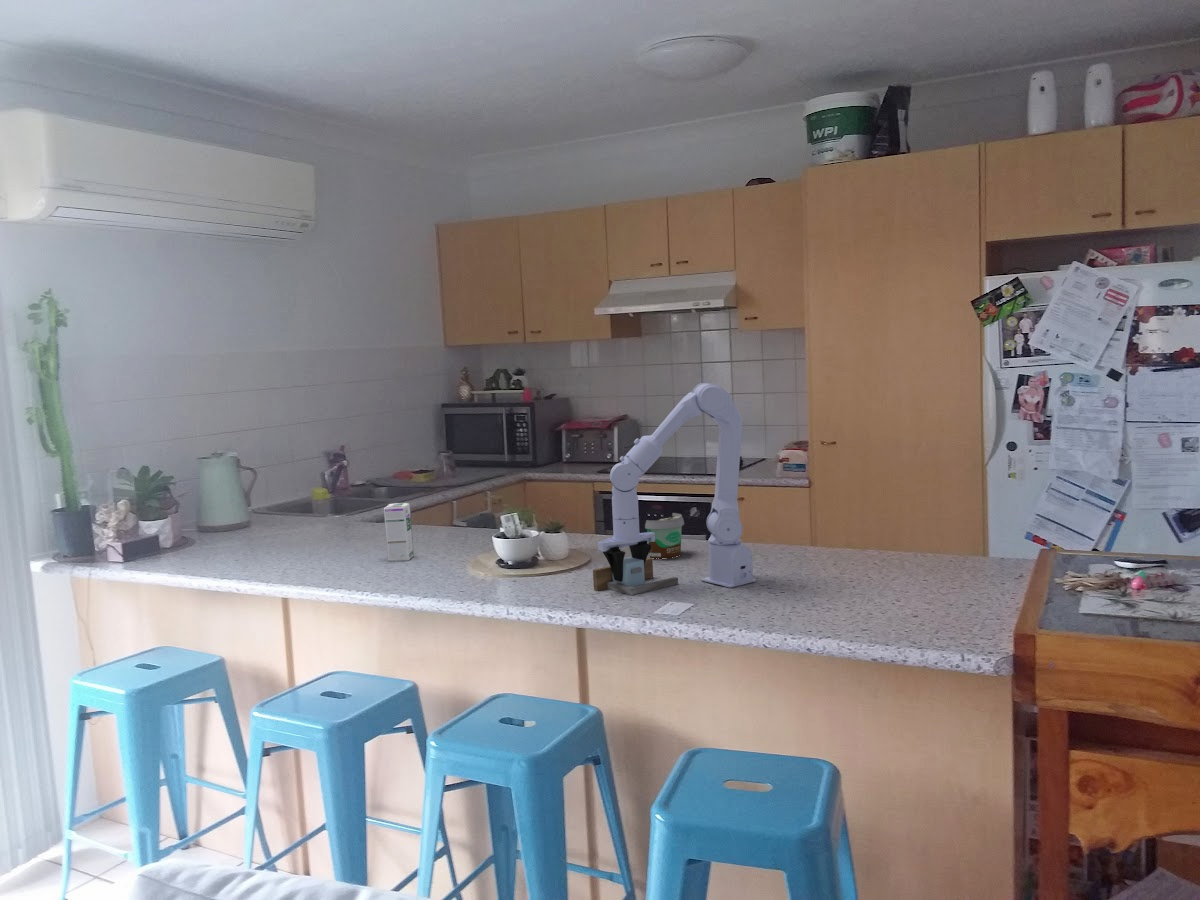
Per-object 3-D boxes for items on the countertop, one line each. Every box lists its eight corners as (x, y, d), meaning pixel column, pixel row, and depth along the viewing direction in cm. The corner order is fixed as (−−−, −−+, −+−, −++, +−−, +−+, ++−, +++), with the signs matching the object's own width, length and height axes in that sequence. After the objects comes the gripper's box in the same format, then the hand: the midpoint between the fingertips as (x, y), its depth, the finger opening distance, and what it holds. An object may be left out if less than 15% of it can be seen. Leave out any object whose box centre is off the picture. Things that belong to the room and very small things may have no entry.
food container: (666, 562, 232) (664, 522, 230) (646, 560, 235) (644, 520, 234) (695, 553, 241) (693, 514, 240) (675, 550, 245) (673, 512, 244)
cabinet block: (647, 587, 208) (646, 560, 208) (629, 591, 205) (628, 564, 205) (630, 583, 213) (629, 556, 212) (613, 587, 210) (611, 560, 209)
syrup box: (409, 560, 248) (405, 505, 246) (387, 561, 248) (383, 506, 246) (414, 555, 253) (410, 502, 252) (392, 556, 254) (388, 503, 252)
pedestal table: (678, 584, 210) (677, 564, 210) (621, 597, 201) (620, 576, 200) (649, 576, 218) (649, 557, 218) (593, 589, 209) (592, 569, 208)
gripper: (639, 511, 215) (642, 569, 217) (588, 520, 207) (591, 581, 208) (660, 514, 210) (662, 574, 211) (607, 523, 201) (610, 586, 202)
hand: (628, 578), depth 209 cm, fingers closed on cabinet block, 5 cm apart
